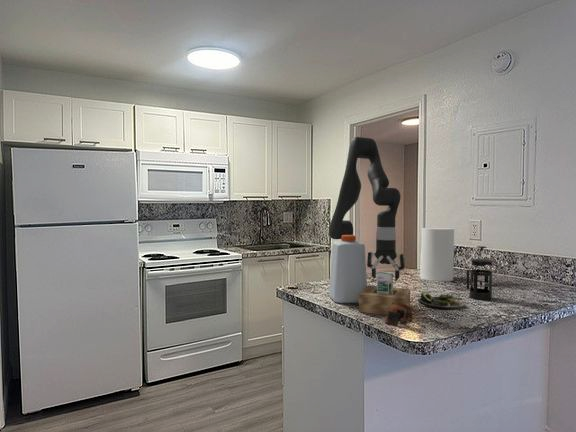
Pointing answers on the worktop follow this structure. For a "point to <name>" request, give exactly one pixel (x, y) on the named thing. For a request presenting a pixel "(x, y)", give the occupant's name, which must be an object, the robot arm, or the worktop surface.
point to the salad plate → (440, 301)
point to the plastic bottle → (347, 270)
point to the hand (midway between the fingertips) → (385, 279)
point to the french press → (477, 292)
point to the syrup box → (385, 283)
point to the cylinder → (437, 254)
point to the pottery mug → (398, 314)
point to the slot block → (381, 300)
